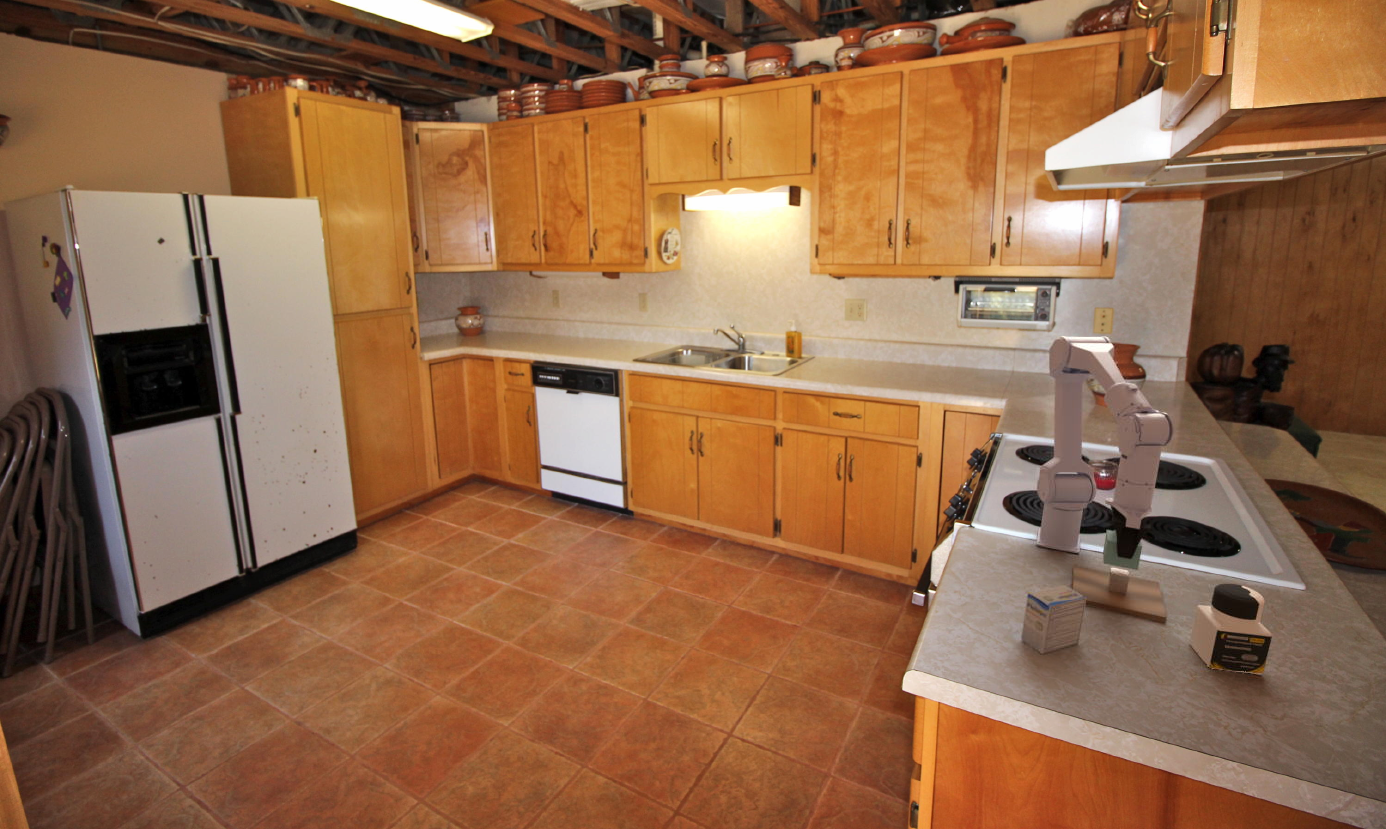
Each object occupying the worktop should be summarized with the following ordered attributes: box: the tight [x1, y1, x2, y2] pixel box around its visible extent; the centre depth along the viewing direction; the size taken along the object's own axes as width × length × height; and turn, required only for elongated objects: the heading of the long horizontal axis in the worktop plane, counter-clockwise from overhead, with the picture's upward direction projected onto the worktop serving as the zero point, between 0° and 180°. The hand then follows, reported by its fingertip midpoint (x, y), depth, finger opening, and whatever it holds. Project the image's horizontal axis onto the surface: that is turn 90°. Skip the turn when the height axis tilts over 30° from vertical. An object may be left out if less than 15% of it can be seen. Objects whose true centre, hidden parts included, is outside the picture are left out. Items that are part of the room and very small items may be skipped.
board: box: [1072, 565, 1167, 624], centre depth 126 cm, size 14×14×1 cm
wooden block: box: [1108, 566, 1130, 595], centre depth 126 cm, size 3×3×4 cm
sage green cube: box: [1102, 529, 1143, 571], centre depth 124 cm, size 5×5×4 cm
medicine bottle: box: [1189, 583, 1273, 674], centre depth 105 cm, size 7×7×12 cm
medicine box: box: [1021, 584, 1086, 655], centre depth 110 cm, size 8×4×9 cm, turn 111°
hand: (1123, 550), depth 124 cm, fingers closed on sage green cube, 5 cm apart
